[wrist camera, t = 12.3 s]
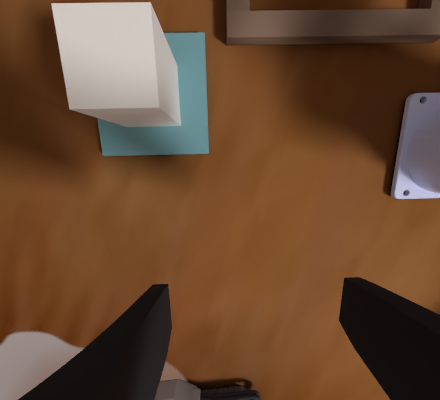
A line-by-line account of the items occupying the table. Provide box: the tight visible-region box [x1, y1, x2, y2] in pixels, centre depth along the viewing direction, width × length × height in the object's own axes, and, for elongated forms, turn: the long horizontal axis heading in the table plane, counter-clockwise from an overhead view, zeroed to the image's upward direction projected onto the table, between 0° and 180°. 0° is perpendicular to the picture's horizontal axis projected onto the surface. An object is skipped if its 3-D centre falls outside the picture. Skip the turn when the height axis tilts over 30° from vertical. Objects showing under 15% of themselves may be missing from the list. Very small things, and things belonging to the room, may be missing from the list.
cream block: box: [51, 2, 181, 127], centre depth 12 cm, size 4×4×6 cm
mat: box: [97, 33, 209, 156], centre depth 15 cm, size 8×8×1 cm
